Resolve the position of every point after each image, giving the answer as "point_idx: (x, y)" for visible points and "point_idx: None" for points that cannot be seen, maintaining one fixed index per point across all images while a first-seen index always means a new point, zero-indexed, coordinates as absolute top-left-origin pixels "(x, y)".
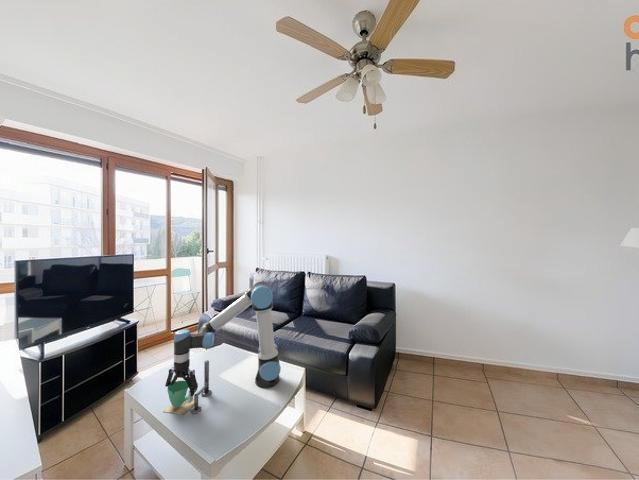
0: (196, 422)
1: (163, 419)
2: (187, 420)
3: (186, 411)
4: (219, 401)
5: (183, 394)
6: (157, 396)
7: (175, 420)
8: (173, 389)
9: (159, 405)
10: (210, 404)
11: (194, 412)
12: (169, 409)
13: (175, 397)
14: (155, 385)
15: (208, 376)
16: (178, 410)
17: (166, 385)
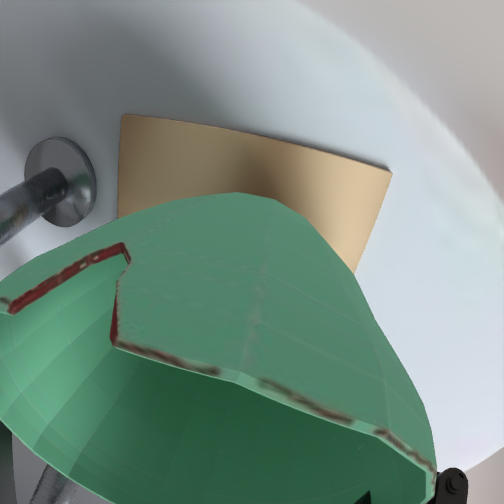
0: (5, 53)
1: (326, 39)
2: (65, 51)
3: (123, 160)
4: (3, 275)
5: (54, 294)
6: (475, 367)
7: (173, 27)
8: (330, 432)
9: (453, 276)
10: (23, 252)
11: (47, 146)
12: (334, 200)
13: (143, 214)
14: (481, 429)
15: (47, 466)
16: (216, 176)
17: (450, 488)
